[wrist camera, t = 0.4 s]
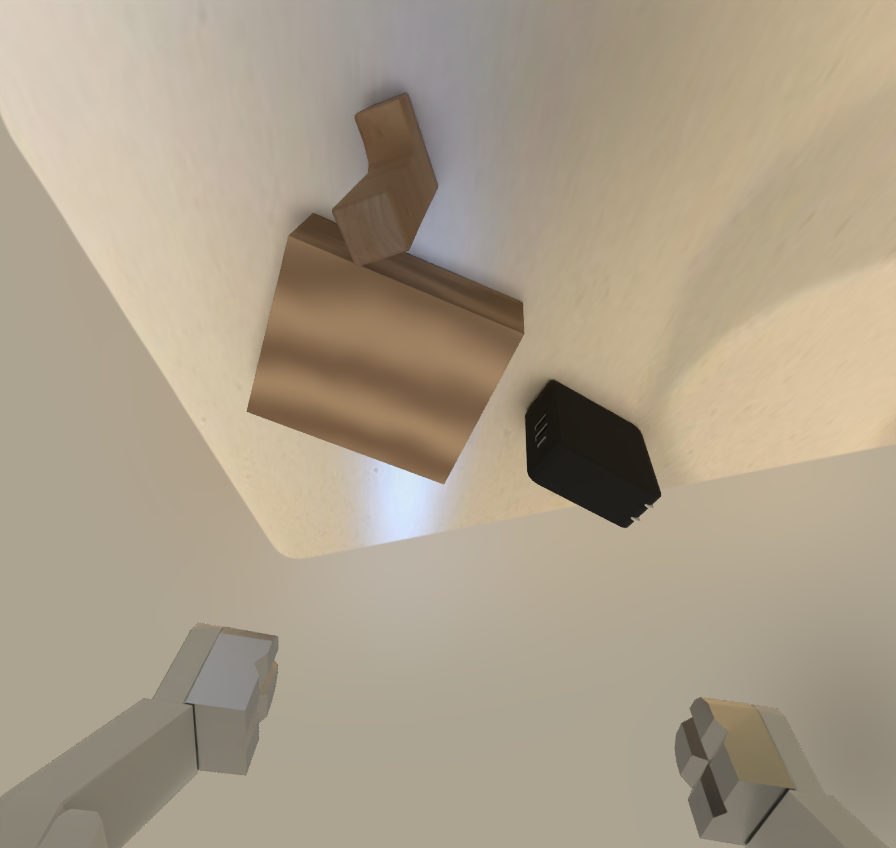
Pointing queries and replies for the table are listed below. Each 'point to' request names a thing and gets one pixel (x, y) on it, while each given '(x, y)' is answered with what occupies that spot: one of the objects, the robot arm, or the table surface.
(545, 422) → the electronic device
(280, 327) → the walnut box
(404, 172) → the wooden block
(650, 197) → the table surface
